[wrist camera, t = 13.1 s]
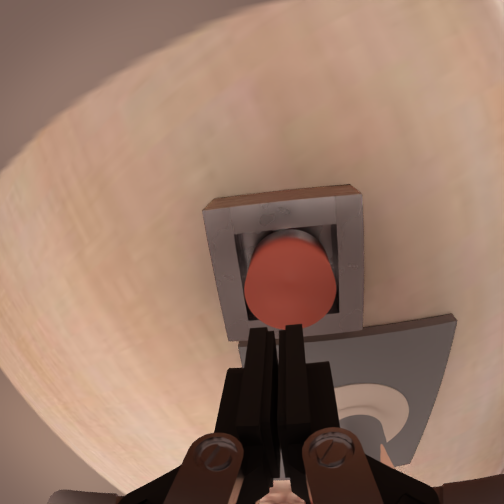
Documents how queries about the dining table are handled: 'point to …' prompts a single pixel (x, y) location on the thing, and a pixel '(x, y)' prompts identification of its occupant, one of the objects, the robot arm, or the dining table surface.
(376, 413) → the beer glass
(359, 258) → the button housing
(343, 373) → the grey rectangular board
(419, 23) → the dining table surface
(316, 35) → the dining table surface
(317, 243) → the button
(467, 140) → the dining table surface
